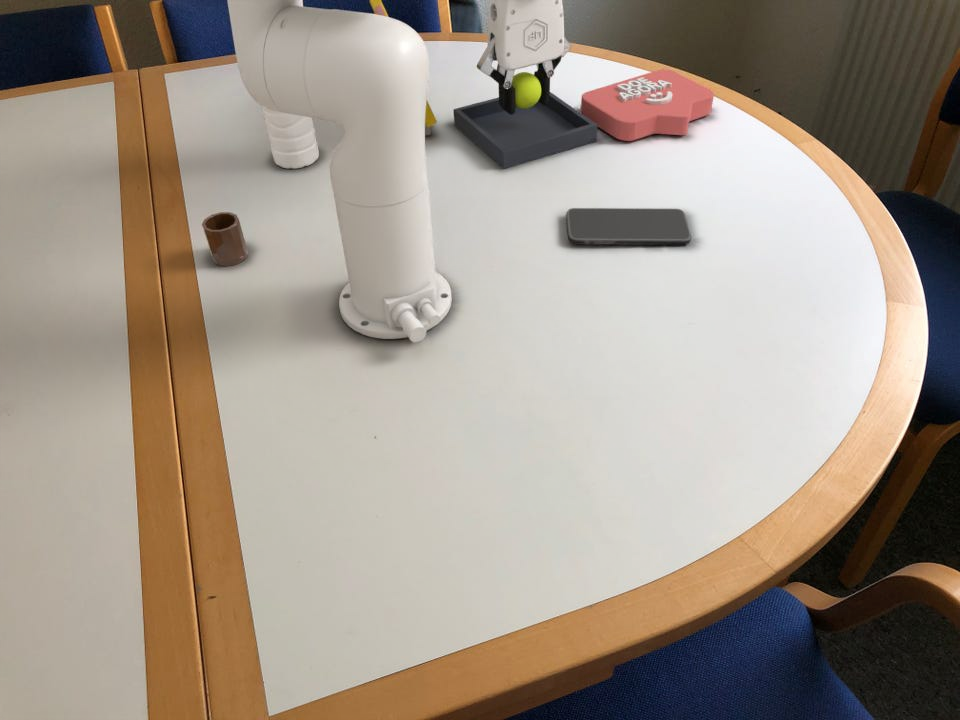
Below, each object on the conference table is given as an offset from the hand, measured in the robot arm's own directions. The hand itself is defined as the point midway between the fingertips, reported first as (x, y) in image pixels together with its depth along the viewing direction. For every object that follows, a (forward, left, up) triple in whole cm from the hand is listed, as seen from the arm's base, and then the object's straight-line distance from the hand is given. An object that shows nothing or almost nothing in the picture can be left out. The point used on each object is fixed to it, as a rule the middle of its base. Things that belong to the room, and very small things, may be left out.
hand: (524, 104), depth 116 cm
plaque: (-6, -19, -5) cm, 20 cm away
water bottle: (+11, +33, -5) cm, 35 cm away
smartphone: (-29, +2, -4) cm, 29 cm away
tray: (0, 0, -4) cm, 4 cm away
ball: (0, 0, +2) cm, 2 cm away
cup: (-9, +47, -4) cm, 48 cm away
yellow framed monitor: (+14, +14, -5) cm, 20 cm away
